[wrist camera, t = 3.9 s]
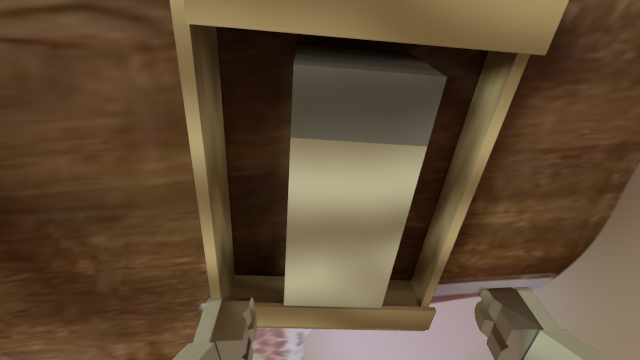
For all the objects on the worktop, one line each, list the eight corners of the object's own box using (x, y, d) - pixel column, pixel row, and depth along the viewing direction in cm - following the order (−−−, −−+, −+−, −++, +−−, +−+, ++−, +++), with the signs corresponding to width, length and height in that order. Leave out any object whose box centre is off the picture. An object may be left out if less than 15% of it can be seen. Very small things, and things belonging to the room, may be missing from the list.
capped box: (368, 250, 24) (381, 307, 20) (288, 247, 23) (283, 305, 19) (411, 54, 17) (447, 77, 12) (297, 43, 16) (293, 64, 12)
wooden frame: (416, 285, 26) (434, 335, 22) (227, 280, 25) (213, 330, 21) (523, -18, 15) (593, -20, 11) (196, -53, 14) (156, -67, 10)
